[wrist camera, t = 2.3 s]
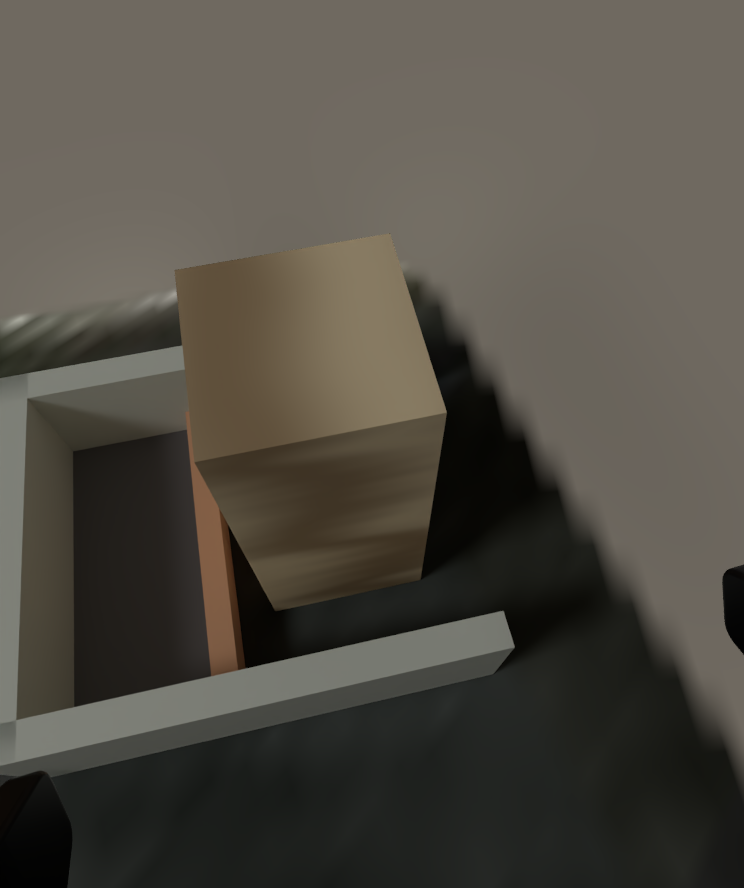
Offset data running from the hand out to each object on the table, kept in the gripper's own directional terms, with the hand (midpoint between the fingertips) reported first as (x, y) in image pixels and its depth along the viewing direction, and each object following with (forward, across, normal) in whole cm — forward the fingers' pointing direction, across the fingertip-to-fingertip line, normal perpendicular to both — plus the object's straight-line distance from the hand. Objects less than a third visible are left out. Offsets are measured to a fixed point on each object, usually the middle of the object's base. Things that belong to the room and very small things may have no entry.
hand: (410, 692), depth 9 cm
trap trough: (+15, +3, +4) cm, 16 cm away
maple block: (+15, 0, +4) cm, 15 cm away
